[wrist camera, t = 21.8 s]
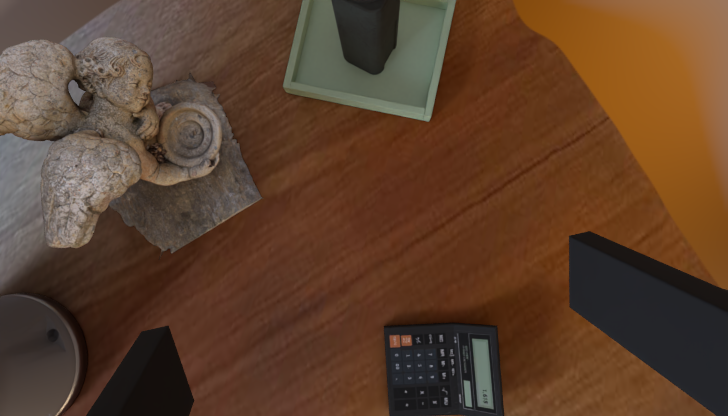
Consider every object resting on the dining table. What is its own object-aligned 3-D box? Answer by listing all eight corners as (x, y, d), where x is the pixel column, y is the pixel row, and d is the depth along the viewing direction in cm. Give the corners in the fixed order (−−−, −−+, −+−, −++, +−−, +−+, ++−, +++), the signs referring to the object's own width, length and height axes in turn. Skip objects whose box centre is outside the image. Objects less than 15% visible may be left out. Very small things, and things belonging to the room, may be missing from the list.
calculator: (384, 325, 43) (384, 333, 40) (490, 320, 43) (499, 327, 40) (389, 413, 43) (390, 427, 40) (497, 409, 42) (506, 422, 39)
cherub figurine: (275, 195, 44) (203, 172, 27) (138, 272, 45) (-24, 301, 27) (203, 63, 46) (89, -43, 28) (70, 139, 46) (-127, 82, 28)
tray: (286, 93, 45) (282, 86, 43) (312, -20, 46) (309, -31, 44) (429, 121, 44) (431, 116, 42) (453, 6, 45) (456, -4, 43)
